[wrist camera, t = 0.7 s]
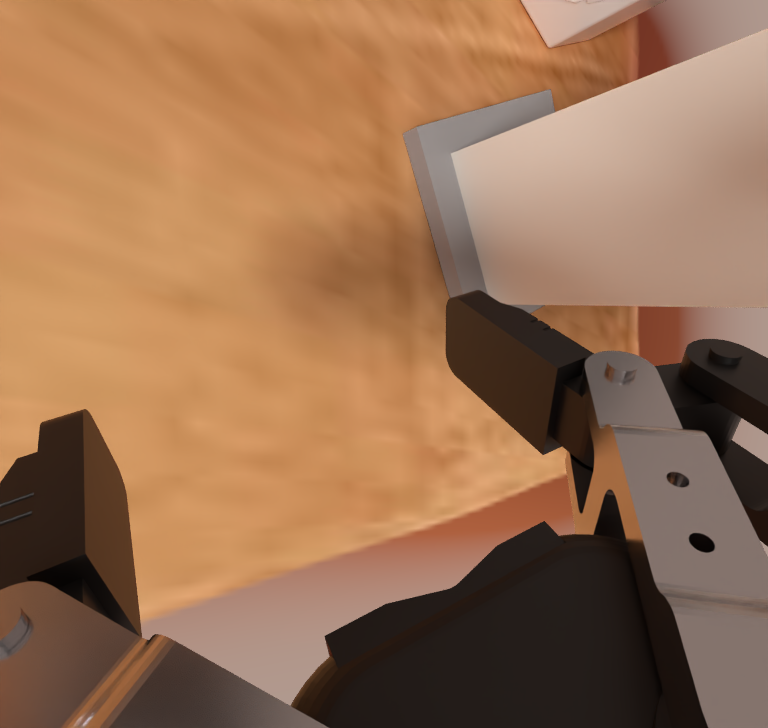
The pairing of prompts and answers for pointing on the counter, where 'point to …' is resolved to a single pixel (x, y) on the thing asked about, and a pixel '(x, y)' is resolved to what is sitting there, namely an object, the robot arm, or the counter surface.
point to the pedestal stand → (609, 191)
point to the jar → (581, 17)
